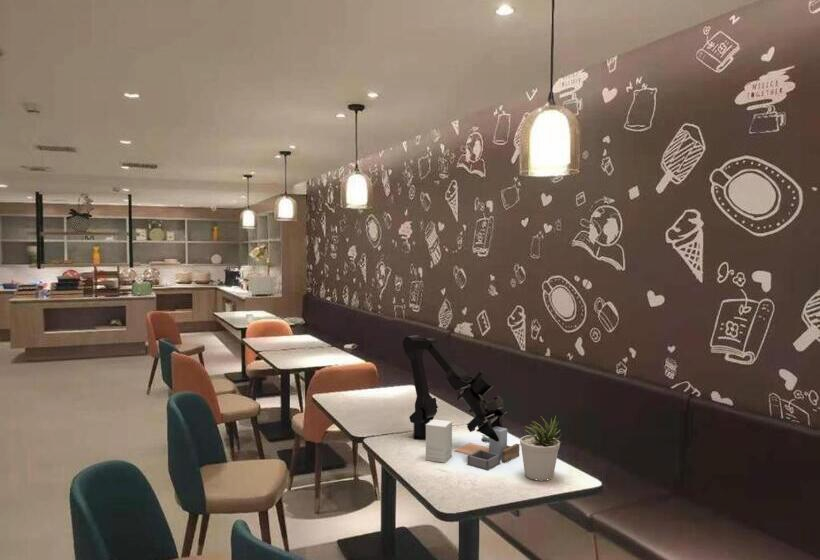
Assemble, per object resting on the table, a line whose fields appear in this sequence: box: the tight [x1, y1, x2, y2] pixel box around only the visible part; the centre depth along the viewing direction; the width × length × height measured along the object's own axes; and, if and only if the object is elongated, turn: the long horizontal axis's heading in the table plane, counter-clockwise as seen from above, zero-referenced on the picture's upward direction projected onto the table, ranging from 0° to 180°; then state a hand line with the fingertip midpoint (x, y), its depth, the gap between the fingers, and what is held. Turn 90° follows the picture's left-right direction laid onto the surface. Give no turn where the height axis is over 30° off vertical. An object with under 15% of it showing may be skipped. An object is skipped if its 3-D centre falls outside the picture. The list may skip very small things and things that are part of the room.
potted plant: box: [519, 415, 563, 481], centre depth 188 cm, size 13×14×20 cm
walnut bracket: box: [501, 443, 521, 464], centre depth 208 cm, size 9×10×4 cm
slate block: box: [488, 426, 508, 461], centre depth 207 cm, size 4×4×10 cm
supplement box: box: [425, 418, 453, 464], centre depth 204 cm, size 7×7×13 cm
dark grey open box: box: [467, 450, 501, 471], centre depth 200 cm, size 8×8×3 cm
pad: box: [454, 442, 489, 456], centre depth 213 cm, size 10×10×1 cm
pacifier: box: [481, 434, 489, 442], centre depth 226 cm, size 7×6×6 cm
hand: (501, 439), depth 206 cm, fingers closed on slate block, 4 cm apart
